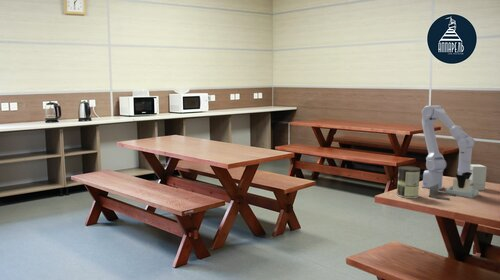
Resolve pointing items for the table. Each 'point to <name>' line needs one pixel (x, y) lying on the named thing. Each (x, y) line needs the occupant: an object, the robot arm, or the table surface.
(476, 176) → the supplement box
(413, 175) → the coffee can
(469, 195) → the tray
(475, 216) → the table surface
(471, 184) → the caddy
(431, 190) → the dock
